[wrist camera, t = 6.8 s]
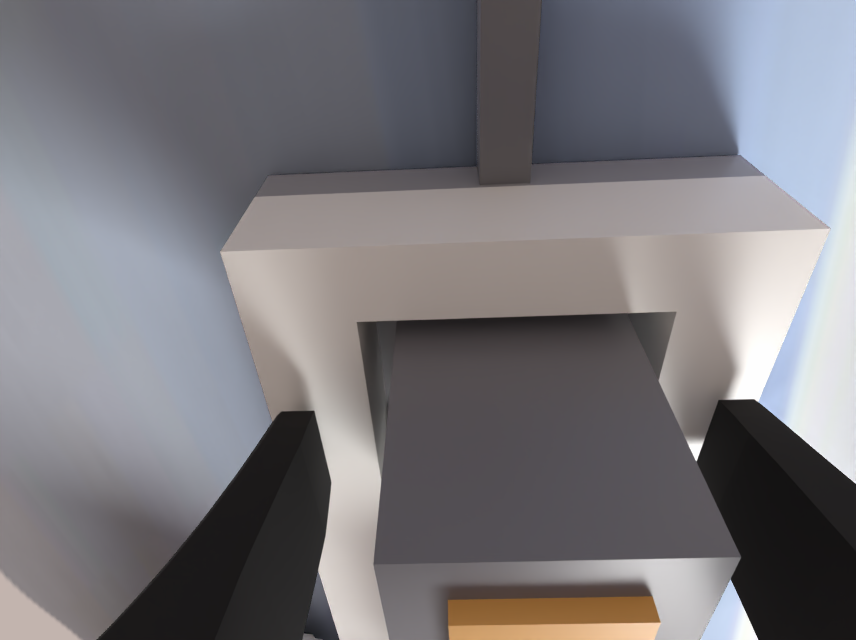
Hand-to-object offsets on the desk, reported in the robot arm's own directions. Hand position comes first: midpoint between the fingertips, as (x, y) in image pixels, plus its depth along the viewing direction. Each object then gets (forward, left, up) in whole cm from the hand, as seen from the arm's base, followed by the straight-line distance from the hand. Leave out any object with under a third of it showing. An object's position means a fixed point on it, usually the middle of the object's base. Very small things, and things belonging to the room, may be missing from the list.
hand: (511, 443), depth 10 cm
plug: (0, 0, -2) cm, 2 cm away
